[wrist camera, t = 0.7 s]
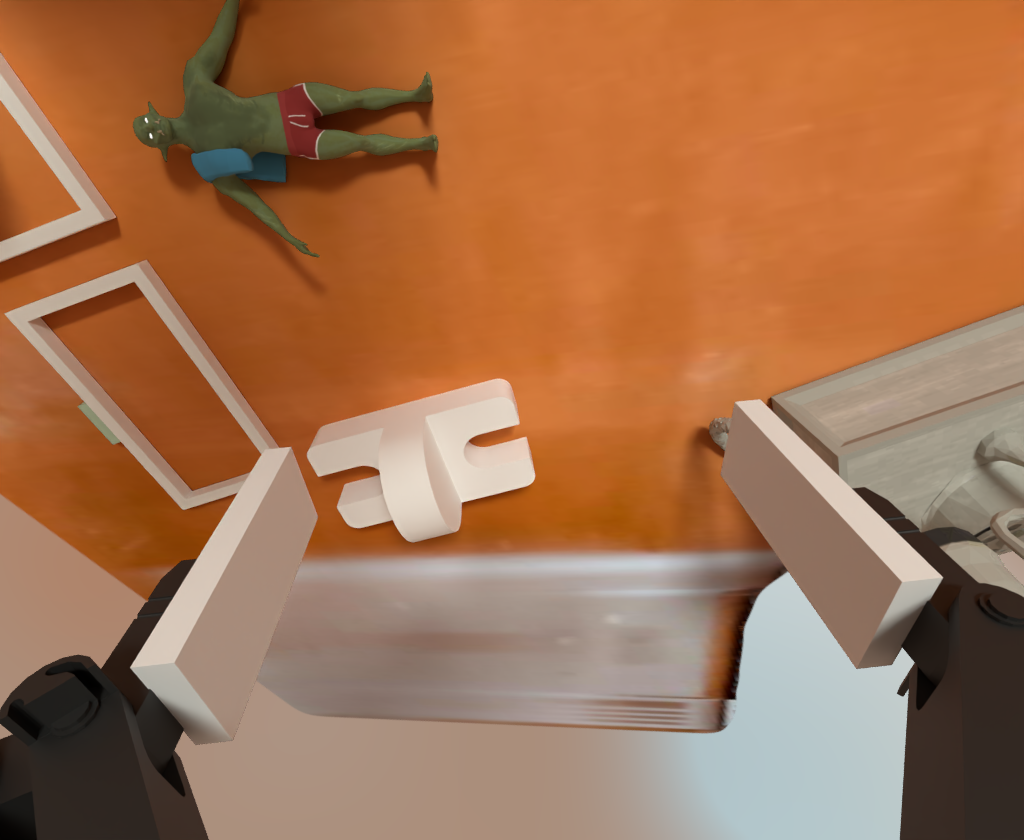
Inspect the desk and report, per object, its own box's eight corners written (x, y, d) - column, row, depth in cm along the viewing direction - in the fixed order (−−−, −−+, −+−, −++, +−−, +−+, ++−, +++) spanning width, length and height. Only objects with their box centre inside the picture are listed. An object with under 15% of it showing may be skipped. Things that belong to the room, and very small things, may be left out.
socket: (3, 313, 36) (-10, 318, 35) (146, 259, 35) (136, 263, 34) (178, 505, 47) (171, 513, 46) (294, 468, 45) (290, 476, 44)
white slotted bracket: (313, 426, 44) (274, 501, 35) (507, 374, 42) (517, 438, 34) (358, 505, 49) (333, 587, 40) (533, 460, 47) (547, 535, 39)
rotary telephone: (729, 544, 55) (894, 811, 34) (695, 398, 45) (901, 648, 23) (1036, 444, 51) (1450, 678, 29) (1076, 257, 40) (1760, 406, 19)
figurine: (449, 248, 32) (164, 269, 31) (450, 246, 36) (195, 264, 35) (416, -58, 26) (65, -48, 25) (421, -23, 30) (115, -13, 29)
